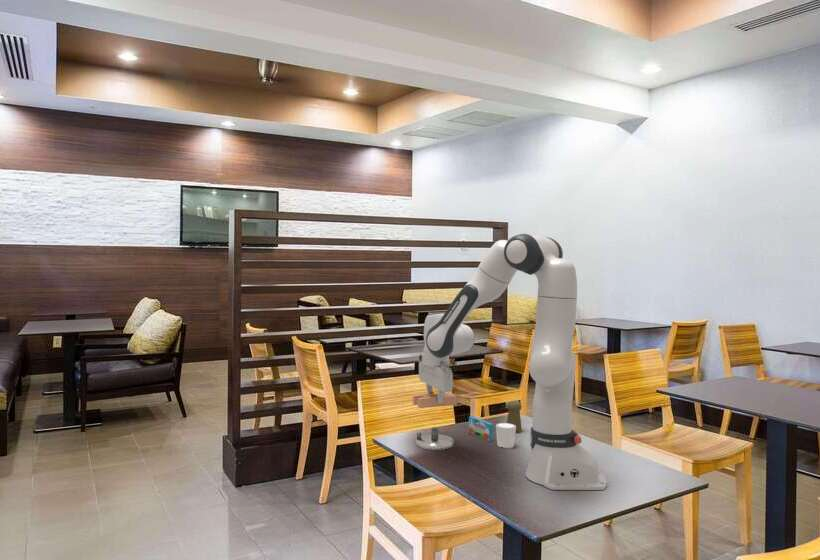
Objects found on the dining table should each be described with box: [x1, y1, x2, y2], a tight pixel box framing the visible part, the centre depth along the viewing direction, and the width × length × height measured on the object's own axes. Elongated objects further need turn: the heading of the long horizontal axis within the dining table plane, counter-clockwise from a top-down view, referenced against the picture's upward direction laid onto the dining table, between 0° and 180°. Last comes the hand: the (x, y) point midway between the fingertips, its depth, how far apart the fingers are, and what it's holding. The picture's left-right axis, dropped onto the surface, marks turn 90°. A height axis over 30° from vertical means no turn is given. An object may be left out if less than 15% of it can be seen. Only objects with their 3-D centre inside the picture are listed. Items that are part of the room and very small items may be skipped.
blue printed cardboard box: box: [467, 415, 494, 442], centre depth 201 cm, size 12×2×6 cm, turn 31°
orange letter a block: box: [412, 392, 458, 409], centre depth 192 cm, size 14×6×3 cm, turn 112°
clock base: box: [415, 427, 455, 451], centre depth 192 cm, size 13×13×6 cm
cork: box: [506, 400, 523, 434], centre depth 209 cm, size 6×6×11 cm
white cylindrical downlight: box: [495, 422, 516, 449], centre depth 192 cm, size 7×7×7 cm
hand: (435, 399), depth 192 cm, fingers closed on orange letter a block, 6 cm apart
